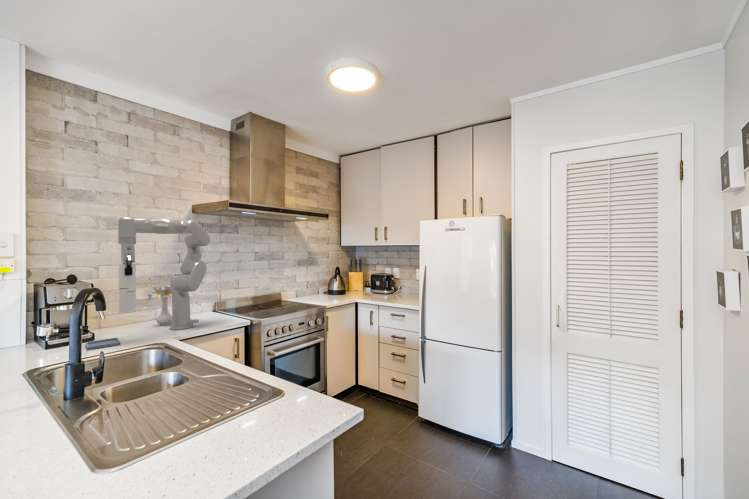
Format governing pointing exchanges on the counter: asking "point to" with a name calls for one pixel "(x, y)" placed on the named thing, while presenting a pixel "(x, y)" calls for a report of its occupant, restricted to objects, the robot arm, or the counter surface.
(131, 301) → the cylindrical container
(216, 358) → the counter surface
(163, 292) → the flower vase
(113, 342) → the slate tray
